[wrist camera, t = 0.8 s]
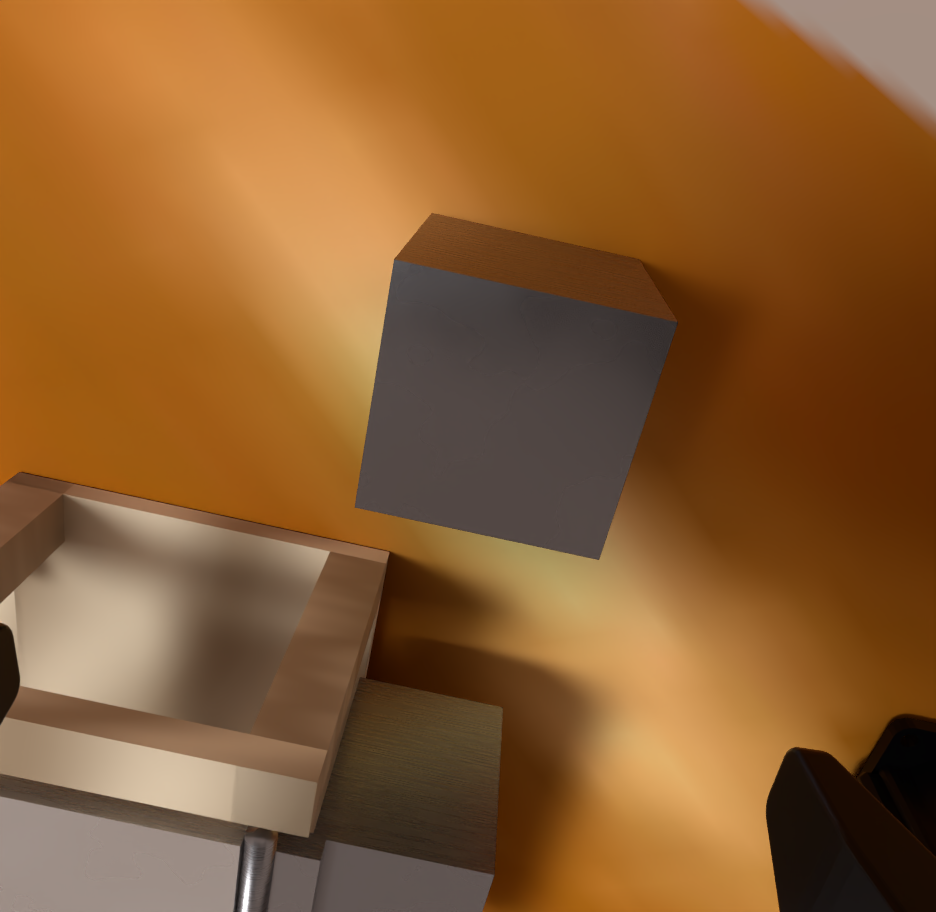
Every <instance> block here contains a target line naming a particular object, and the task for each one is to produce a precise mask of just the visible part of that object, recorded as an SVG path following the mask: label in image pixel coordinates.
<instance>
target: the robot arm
mask: <svg viewBox="0 0 936 912" xmlns="http://www.w3.org/2000/svg"><path fill="white" fill-rule="evenodd" d="M19 687H20V672H19V666H18V660H17V654H16V648H15V642H14V636H13V632H12V630H11V629H10V627H9V626H8V625H5V624H3V623H0V725H1V724H2V722H3V720H4V718H5V717H6V715H7V713H8V712H9V710H10V708H11V706H12V705H13V703H14V701H15V699H16V697H17V694H18V691H19ZM908 734H910V735H908ZM905 735H908V736H905ZM903 736H905V737H903ZM766 820H767V827H768V834H769V841H770V848H771V855H772V862H773V869H774V875H775V882H776V889H777V896H778V903H779V910H780V912H936V724H934V723H930V722H925V721H921V720H916V719H911V718H902V719H898V720H896V721H894V722H892V723H891V724H890V725H889V726H888V727H887V729H886V731H885V732H884V734H883V736H882V737H881V739H880V741H879V742H878V744H877V746H876V747H875V749H874V751H873V752H872V754H871V756H870V757H869V759H868V761H867V762H866V764H865V765H864V767H863V769H862V770H861V772H860V774H859V775H858V777H857V779H856V778H855V777H854V776H853V775H852V774H851V773H850V772H849V771H848V770H847V769H846V768H845V767H844V766H843V765H841V764H840V763H839V762H838V761H837V760H836V759H835V758H834V757H833V756H832V755H830V754H829V753H827V752H824V751H819V750H813V749H806V748H800V747H794V748H791V749H789V750H788V751H787V753H786V755H785V756H784V759H783V761H782V763H781V766H780V768H779V771H778V773H777V776H776V778H775V781H774V783H773V785H772V788H771V790H770V793H769V795H768V799H767V804H766Z"/></svg>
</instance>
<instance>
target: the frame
mask: <svg viewBox="0 0 936 912" xmlns="http://www.w3.org/2000/svg"><path fill="white" fill-rule="evenodd" d="M388 558H389V552H387V551H383V550H378V549H373V548H369V547H364V546H360V545H355V544H350V543H346V542H341V541H336V540H332V539H327V538H322V537H318V536H313V535H309V534H304V533H299V532H295V531H290V530H285V529H281V528H276V527H271V526H267V525H262V524H258V523H253V522H248V521H244V520H239V519H234V518H230V517H225V516H220V515H216V514H211V513H207V512H202V511H197V510H193V509H188V508H183V507H179V506H174V505H169V504H165V503H160V502H156V501H151V500H146V499H142V498H137V497H132V496H128V495H123V494H118V493H114V492H109V491H105V490H100V489H95V488H91V487H86V486H81V485H77V484H72V483H68V482H63V481H58V480H54V479H49V478H44V477H40V476H35V475H30V474H26V473H21V472H19V473H17V474H16V475H15V476H13V477H12V478H11V479H9V480H8V481H7V482H5V483H4V484H3V485H1V486H0V623H3V624H5V625H8V626H9V627H10V629H11V630H12V632H13V636H14V642H15V648H16V654H17V660H18V666H19V672H20V687H19V691H18V694H17V697H16V699H15V701H14V703H13V705H12V706H11V708H10V710H9V712H8V713H7V715H6V717H5V718H4V720H3V722H2V724H1V725H0V774H5V775H10V776H15V777H19V778H24V779H29V780H34V781H39V782H43V783H48V784H53V785H58V786H63V787H67V788H72V789H77V790H82V791H87V792H91V793H96V794H101V795H106V796H110V797H115V798H120V799H125V800H130V801H134V802H139V803H144V804H149V805H154V806H158V807H163V808H168V809H173V810H178V811H182V812H187V813H192V814H197V815H201V816H206V817H211V818H216V819H221V820H225V821H230V822H235V823H240V824H245V825H249V826H254V827H259V828H264V829H269V830H273V831H278V832H283V833H288V834H292V835H297V836H302V837H307V838H308V837H309V834H310V832H311V833H314V830H315V827H316V823H317V820H318V816H319V813H320V810H321V806H322V803H323V800H324V796H325V793H326V789H327V786H328V783H329V779H330V776H331V773H332V769H333V766H334V763H335V759H336V756H337V752H338V749H339V746H340V742H341V739H342V736H343V732H344V729H345V725H346V722H347V719H348V715H349V712H350V709H351V705H352V702H353V698H354V695H355V692H356V688H357V685H358V682H359V678H360V677H362V678H366V675H367V669H368V664H369V659H370V653H371V648H372V643H373V637H374V632H375V627H376V621H377V616H378V611H379V605H380V600H381V595H382V590H383V584H384V579H385V574H386V568H387V563H388Z"/></svg>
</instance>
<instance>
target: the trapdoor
mask: <svg viewBox="0 0 936 912" xmlns="http://www.w3.org/2000/svg"><path fill="white" fill-rule="evenodd" d="M502 716H503V707H499V706H494V705H489V704H484V703H480V702H475V701H470V700H466V699H461V698H456V697H452V696H447V695H442V694H437V693H433V692H428V691H423V690H419V689H414V688H409V687H405V686H400V685H395V684H390V683H386V682H381V681H376V680H372V679H367V678H362V677H360V678H359V682H358V685H357V688H356V692H355V695H354V698H353V702H352V705H351V709H350V712H349V715H348V719H347V722H346V725H345V729H344V732H343V736H342V739H341V742H340V746H339V749H338V752H337V756H336V759H335V763H334V766H333V769H332V773H331V776H330V779H329V783H328V786H327V789H326V793H325V796H324V800H323V803H322V806H321V810H320V813H319V816H318V820H317V823H316V827H315V830H314V833H311V832H310V834H309V837H308V838H307V837H302V836H297V835H292V834H288V833H283V832H278V831H273V830H269V829H264V828H259V827H254V826H249V825H245V824H240V823H235V822H230V821H225V820H221V819H216V818H211V817H206V816H201V815H197V814H192V813H187V812H182V811H178V810H173V809H168V808H163V807H158V806H154V805H149V804H144V803H139V802H134V801H130V800H125V799H120V798H115V797H110V796H106V795H101V794H96V793H91V792H87V791H82V790H77V789H72V788H67V787H63V786H58V785H53V784H48V783H43V782H39V781H34V780H29V779H24V778H19V777H15V776H10V775H5V774H0V912H482V911H483V908H484V905H485V902H486V899H487V896H488V893H489V890H490V887H491V884H492V881H493V878H494V873H495V853H496V834H497V814H498V795H499V775H500V755H501V736H502Z"/></svg>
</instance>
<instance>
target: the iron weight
mask: <svg viewBox="0 0 936 912" xmlns="http://www.w3.org/2000/svg"><path fill="white" fill-rule="evenodd" d="M677 324H678V321H677V320H676V318H675V317H674V315H673V313H672V312H671V310H670V308H669V307H668V305H667V304H666V302H665V300H664V299H663V297H662V296H661V294H660V292H659V291H658V289H657V287H656V286H655V284H654V283H653V281H652V279H651V278H650V276H649V275H648V273H647V271H646V270H645V268H644V266H643V265H642V263H641V262H640V260H639V259H635V258H631V257H626V256H622V255H617V254H613V253H608V252H604V251H600V250H595V249H591V248H586V247H582V246H577V245H573V244H568V243H564V242H559V241H555V240H550V239H546V238H541V237H537V236H532V235H528V234H523V233H519V232H514V231H510V230H505V229H501V228H496V227H492V226H487V225H483V224H478V223H474V222H470V221H465V220H461V219H456V218H452V217H447V216H443V215H438V214H434V213H431V215H430V216H429V217H428V218H427V220H426V221H425V222H424V223H423V225H422V226H421V227H420V228H419V229H418V231H417V232H416V233H415V234H414V236H413V237H412V238H411V239H410V241H409V242H408V243H407V244H406V245H405V247H404V248H403V249H402V250H401V252H400V253H399V254H398V255H397V257H396V258H395V259H394V264H393V270H392V276H391V283H390V289H389V295H388V302H387V308H386V314H385V320H384V327H383V333H382V339H381V346H380V352H379V358H378V364H377V371H376V377H375V383H374V390H373V396H372V402H371V408H370V415H369V421H368V427H367V434H366V440H365V446H364V453H363V459H362V465H361V471H360V478H359V484H358V490H357V497H356V503H355V507H356V508H360V509H365V510H370V511H374V512H379V513H384V514H388V515H393V516H397V517H402V518H407V519H411V520H416V521H421V522H425V523H430V524H435V525H439V526H444V527H449V528H453V529H458V530H463V531H467V532H472V533H476V534H481V535H486V536H490V537H495V538H500V539H504V540H509V541H514V542H518V543H523V544H528V545H532V546H537V547H542V548H546V549H551V550H556V551H560V552H565V553H569V554H574V555H579V556H583V557H588V558H593V559H597V560H599V558H600V555H601V552H602V549H603V546H604V543H605V540H606V537H607V534H608V531H609V528H610V525H611V522H612V519H613V516H614V513H615V510H616V507H617V504H618V501H619V498H620V495H621V492H622V489H623V486H624V483H625V480H626V477H627V474H628V471H629V468H630V465H631V462H632V459H633V456H634V453H635V450H636V447H637V444H638V441H639V438H640V435H641V432H642V429H643V426H644V423H645V420H646V417H647V414H648V411H649V408H650V405H651V402H652V399H653V396H654V393H655V390H656V387H657V384H658V381H659V378H660V375H661V372H662V369H663V366H664V363H665V360H666V357H667V354H668V351H669V348H670V345H671V342H672V339H673V336H674V333H675V330H676V327H677Z"/></svg>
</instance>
